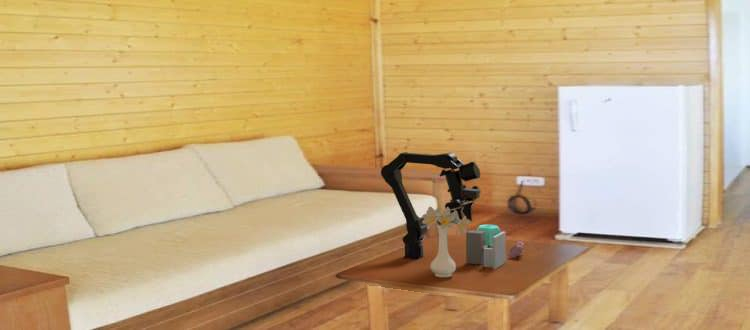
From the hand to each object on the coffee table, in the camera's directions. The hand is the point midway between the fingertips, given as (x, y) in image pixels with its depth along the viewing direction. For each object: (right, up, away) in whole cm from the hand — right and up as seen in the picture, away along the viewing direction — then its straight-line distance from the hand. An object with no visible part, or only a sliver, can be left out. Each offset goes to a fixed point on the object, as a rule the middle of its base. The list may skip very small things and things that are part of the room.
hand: (466, 223), depth 332 cm
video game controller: (+21, -14, +10) cm, 27 cm away
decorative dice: (+13, -11, +33) cm, 37 cm away
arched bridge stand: (+10, -16, -4) cm, 19 cm away
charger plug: (+4, -15, -1) cm, 16 cm away
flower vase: (-10, -18, -19) cm, 28 cm away
